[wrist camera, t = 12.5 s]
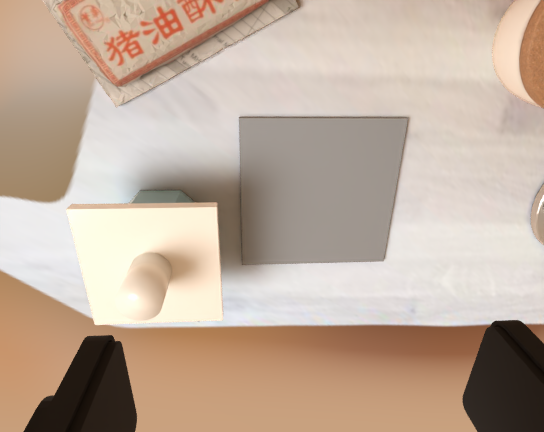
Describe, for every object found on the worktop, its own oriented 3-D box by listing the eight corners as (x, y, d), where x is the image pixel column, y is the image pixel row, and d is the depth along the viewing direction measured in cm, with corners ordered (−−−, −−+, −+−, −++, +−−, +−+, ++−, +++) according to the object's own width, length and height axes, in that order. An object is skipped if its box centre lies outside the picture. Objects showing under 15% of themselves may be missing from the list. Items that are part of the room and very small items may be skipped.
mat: (406, 117, 36) (408, 118, 35) (382, 259, 42) (383, 261, 42) (239, 117, 34) (239, 118, 34) (242, 262, 41) (242, 264, 41)
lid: (217, 202, 32) (212, 233, 27) (223, 313, 37) (220, 356, 32) (71, 204, 31) (38, 236, 26) (98, 317, 36) (75, 362, 31)
